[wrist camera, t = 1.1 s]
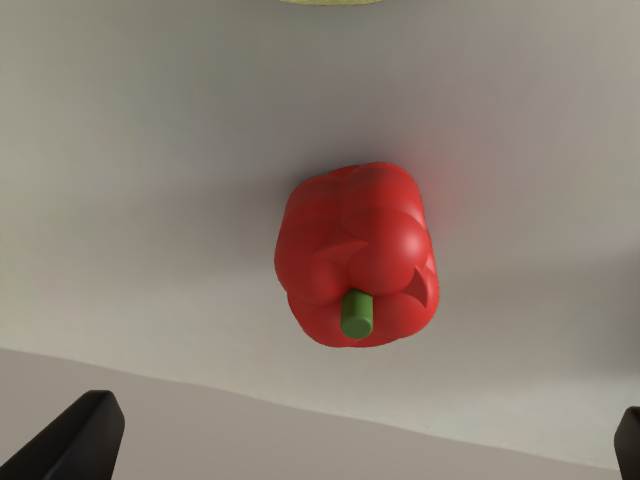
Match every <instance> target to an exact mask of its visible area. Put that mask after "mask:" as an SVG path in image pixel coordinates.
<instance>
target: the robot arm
mask: <svg viewBox="0 0 640 480" xmlns="http://www.w3.org/2000/svg"><path fill="white" fill-rule="evenodd" d="M124 427H125V420H124V415H123V413H122V411H121V409H120V407H119V405H118V402H117V400H116V398H115V396H114V394H113V393H112V392H111V391H108V390H90V391H88V392H86V393H85V394H83V395H82V396H81V397H80V398H79V399H77V400H76V401H75V402H74V403H73V404H72V405H71V406H69V407H68V408H67V409H66V410H65V411H64V412H63V413H62V414H60V415H59V416H58V417H57V418H56V419H55V420H53V421H52V422H51V423H50V424H49V425H48V426H47V427H45V428H44V429H43V430H42V431H41V432H40V433H39V434H37V435H36V436H35V437H34V438H33V439H32V440H31V441H30V442H28V443H27V444H26V445H25V446H24V447H23V448H21V449H20V450H19V451H18V452H17V453H16V454H15V455H13V456H12V457H11V458H10V459H9V460H8V461H7V462H5V463H4V464H3V465H2V466H1V467H0V480H111V477H112V474H113V470H114V466H115V462H116V458H117V455H118V451H119V447H120V443H121V439H122V436H123V432H124ZM614 447H615V452H616V456H617V460H618V464H619V468H620V472H621V475H622V479H623V480H640V407H637V406H632V407H629V408H628V409H626V411H625V413H624V415H623V417H622V420H621V422H620V424H619V426H618V428H617V431H616V433H615V436H614Z"/></svg>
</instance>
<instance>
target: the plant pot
mask: <svg viewBox="0 0 640 480" xmlns="http://www.w3.org/2000/svg"><path fill="white" fill-rule="evenodd" d="M279 1H285V2H290V3H300V4H311V5H321V6H335V5H363V4H371V3H377V2H383V1H388V0H279Z"/></svg>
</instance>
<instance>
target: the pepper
mask: <svg viewBox="0 0 640 480" xmlns="http://www.w3.org/2000/svg"><path fill="white" fill-rule="evenodd" d="M274 264H275V270H276V274H277V277H278V280H279V281H280V283H281V285H282V286H283V288H284V289H285V291H286V292H287V298H288V303H289V306H290V308H291V311H292V313H293V315H294V316H295V318H296V319H297V321H298V323H299V324H300V326H301V327H302V329H303V331H304V332H305V333H306V334H307V335H308V336H309V337H311V338H312V339H313V340H315V341H316V342H318V343H320V344H322V345H325V346H329V347H339V348H340V347H357V348H358V347H374V346H379V345H383V344H386V343H390V342H392V341H395V340H397V339H399V338H404V337H408V336H411V335H413V334H415V333H417V332H418V331H420V330H421V329H423V328H424V327H425V326H426V325H427V324H428V323H429V321H430V320H431V319H432V317H433V316H434V314H435V312H436V309H437V306H438V302H439V283H438V277H437V271H436V265H435V259H434V253H433V247H432V242H431V237H430V235H429V232H428V229H427V228H426V224H425V218H424V211H423V205H422V199H421V195H420V192H419V189H418V187H417V184H416V183H415V181H414V180H413V179H412V178H411V177H410V176H409V175H408V174H407V173H406V172H405V171H404V170H402V169H401V168H399V167H397V166H395V165H392V164H388V163H378V162H376V163H369V164H365V165H362V166H349V167H344V168H340V169H337V170H335V171H333V172H330V173H328V174H327V175H321V176H315V177H312V178H310V179H308V180H306V181H304V182H303V183H301V184H300V185H299V186H298V187H297V188H296V189H295V190H294V191H293V193H292V194H291V195H290V198H289V200H288V202H287V204H286V208H285V212H284V216H283V220H282V224H281V228H280V232H279V236H278V240H277V244H276V249H275V256H274Z"/></svg>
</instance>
